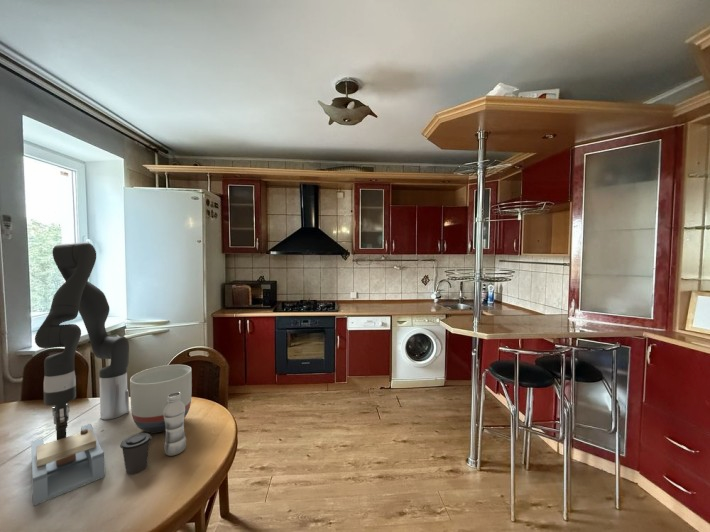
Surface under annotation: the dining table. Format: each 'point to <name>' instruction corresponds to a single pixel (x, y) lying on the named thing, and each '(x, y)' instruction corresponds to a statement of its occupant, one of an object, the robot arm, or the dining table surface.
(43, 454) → the lid
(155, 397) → the planter
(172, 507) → the dining table surface
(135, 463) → the coffee cup
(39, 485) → the stand
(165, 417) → the plastic bottle
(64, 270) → the robot arm
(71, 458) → the block
